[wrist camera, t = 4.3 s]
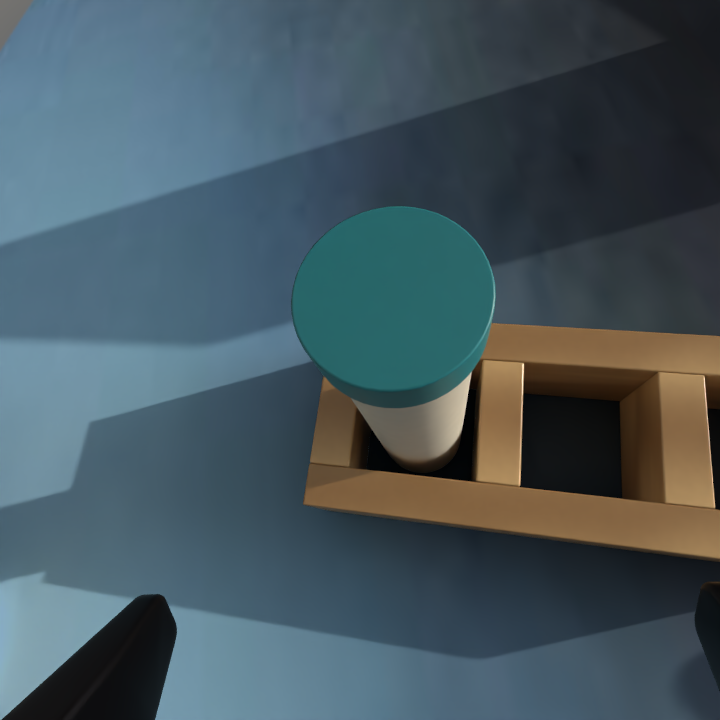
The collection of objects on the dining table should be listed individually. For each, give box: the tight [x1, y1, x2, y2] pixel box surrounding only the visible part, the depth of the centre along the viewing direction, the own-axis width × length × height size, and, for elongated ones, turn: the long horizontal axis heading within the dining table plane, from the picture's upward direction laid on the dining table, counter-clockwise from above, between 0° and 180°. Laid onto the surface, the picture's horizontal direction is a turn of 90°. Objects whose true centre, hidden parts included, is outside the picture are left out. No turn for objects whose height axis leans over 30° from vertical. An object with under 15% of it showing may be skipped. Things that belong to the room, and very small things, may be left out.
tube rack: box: [303, 323, 720, 562], centre depth 18 cm, size 7×18×4 cm, turn 83°
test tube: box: [291, 206, 496, 473], centre depth 15 cm, size 4×4×13 cm
